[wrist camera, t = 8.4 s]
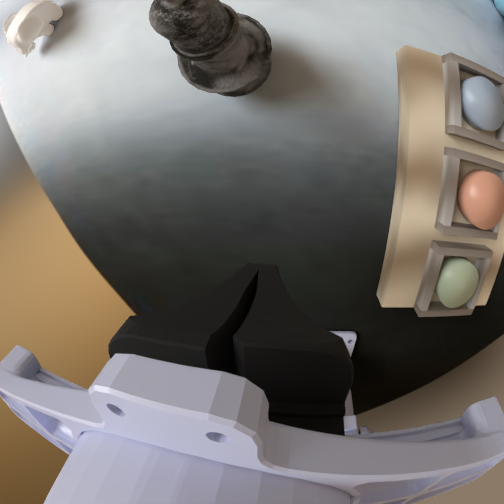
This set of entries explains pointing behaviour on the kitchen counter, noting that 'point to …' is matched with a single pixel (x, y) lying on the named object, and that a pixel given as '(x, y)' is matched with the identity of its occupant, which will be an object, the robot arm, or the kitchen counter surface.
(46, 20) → the elephant figurine
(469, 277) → the green button
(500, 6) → the decorative pot
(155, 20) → the grey chess piece
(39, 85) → the kitchen counter surface
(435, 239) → the button panel
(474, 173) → the terracotta button
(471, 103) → the blue button
